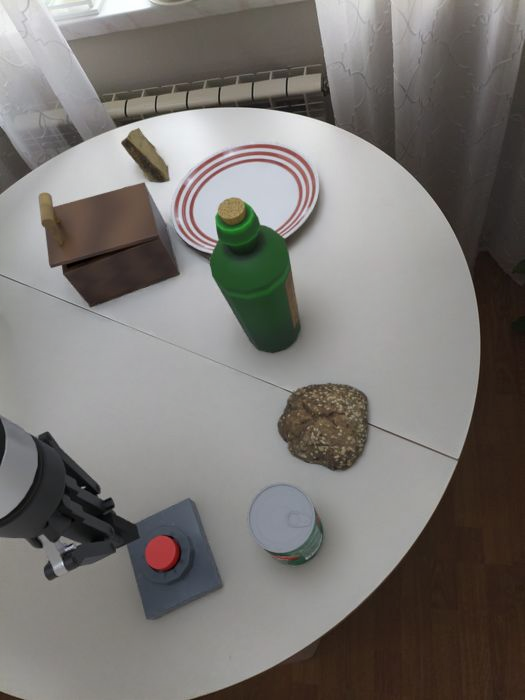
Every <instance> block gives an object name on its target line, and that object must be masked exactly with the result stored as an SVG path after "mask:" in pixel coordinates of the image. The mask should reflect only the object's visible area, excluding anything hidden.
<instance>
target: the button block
mask: <svg viewBox="0 0 525 700" xmlns="http://www.w3.org/2000/svg"><path fill="white" fill-rule="evenodd" d="M134 524H135V525H137V529H138V532H139V536H140V538H139V539H137V540H135V541H133V542H131V543H129V544H126V547H127V552H128V554H129V559H130V563H131V566H132V570H133V574H134V578H135V581H136V585H137V588H138V592H139V597H140V600H141V604H142V608H143V612H144V615H145V619H146V620H149V621H155V620H156V619H158V618H161V617H163V616H165V615H167V614H169V613H171V612H173V611H175V610H177V609H179V608H182V607H183V606H186V605H188V604H190V603H192V602H194V601H197V600H198V599H200V598H203V597H205V596H206V595H209V594H210V593H212V592H215V591H216V590H219V589H221V588H223V587H224V584H223V581H222V579H221V575H220V573H219V569H218V566H217V564H216V561H215V559H214V555H213V553H212V552H213V551H212V549H211V546H210V543H209V540H208V538H207V535H206V532H205V529H204V526H203V523H202V520H201V517H200V514H199V512H198V508H197V506H196V503H195V501H194V500H193V499H191V498H190V497H188V498H186V499H184V500H182V501H180V502H178V503H175V504H173V505H171V506H169V507H167V508H165V509H163V510H161V511H159V512H157V513H154V514H152V515H150V516H148V517H146V518H144V519H142V520H140V521H137V522H135V523H134ZM157 536H167V537H169V538H171V539H173V540H174V541H176V543H177V544H178V546H179V549H180V556H179V559H178V561H177V563H176V564H175V566H173V567H172V568H171V569H169V570H166V571H161V570H158V569H155V568H152V567H151V566H150V565H149V564H148V563H147V561H146V557H145V551H146V548H147V545H148V544H149V542H150V541H151V540H152V539H153V538H155V537H157Z"/></svg>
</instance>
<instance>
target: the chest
mask: <svg viewBox="0 0 525 700" xmlns="http://www.w3.org/2000/svg"><path fill="white" fill-rule="evenodd" d="M146 189H147V192H148V196H149V200H150V204H151V208H152V211H153V215H154V219H155V223H156V226H157V230H158V234H159V238H158V239H154V240H150V241H147V242H143V243H140V244H136V245H132V246H129V247H125V248H122V249H118V250H115V251H111V252H107V253H104V254H100V255H97V256H93V257H90V258H86V259H82V260H79V261H75V262H72V263H68V264H65V265H61V270H62V275H63V276H64V278H66V280H67V281H68V282H69V283H70V285H71V286H72V287H73V288H74V289H75V291H76V292H77V293H78V294H79V295H80V296H81V298H82V299H83V300H84V301H85V302H86V303H87V304H88V306H89V307H90V308H93V307H96V306H98V305H100V304H104V303H106V302H109V301H112V300H114V299H117V298H120V297H123V296H124V295H125V296H126V295H128V294H131V293H134V292H136V291H139V290H142V289H144V288H148V287H149V286H152V285H155V284H157V283H160V282H163V281H166V280H168V279H171V278H174V277H177V276H179V275H180V270H179V266H178V262H177V260H176V256H175V255H176V254H175V252H174V249H173V245H172V242H171V238H170V233H169V230H168V227H167V223H166V222H165V219H164V218H163V216H162V214H161V212H160V210H159V208H158V206H157V204H156V202H155V200H154V198H153V196H152V194H151V192H150V190H149V189H148V187H147V186H146Z"/></svg>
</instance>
